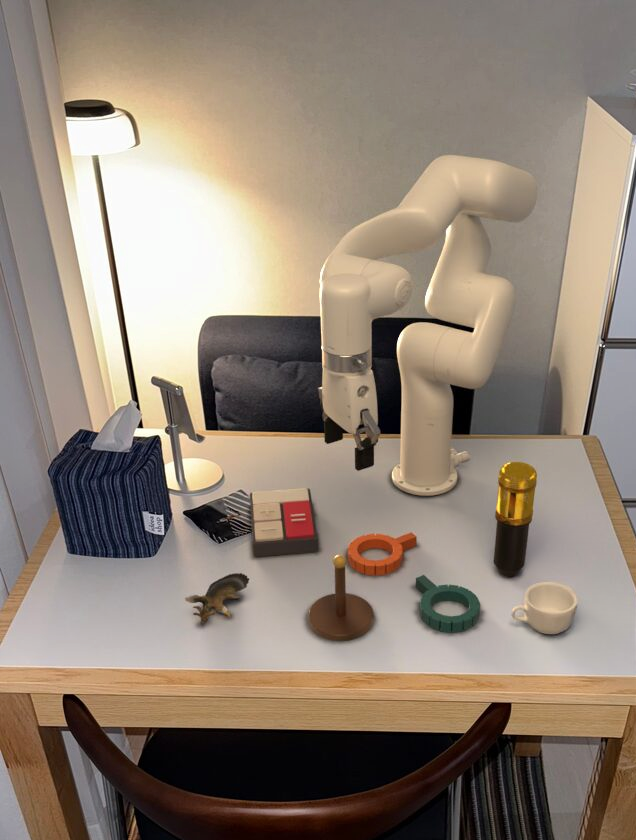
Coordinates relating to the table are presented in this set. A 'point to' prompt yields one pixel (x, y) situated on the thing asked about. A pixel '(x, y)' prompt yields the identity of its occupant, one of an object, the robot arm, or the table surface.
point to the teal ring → (444, 593)
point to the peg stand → (340, 610)
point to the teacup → (548, 607)
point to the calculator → (283, 522)
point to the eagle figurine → (219, 595)
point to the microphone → (513, 516)
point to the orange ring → (381, 542)
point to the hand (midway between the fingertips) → (348, 454)
